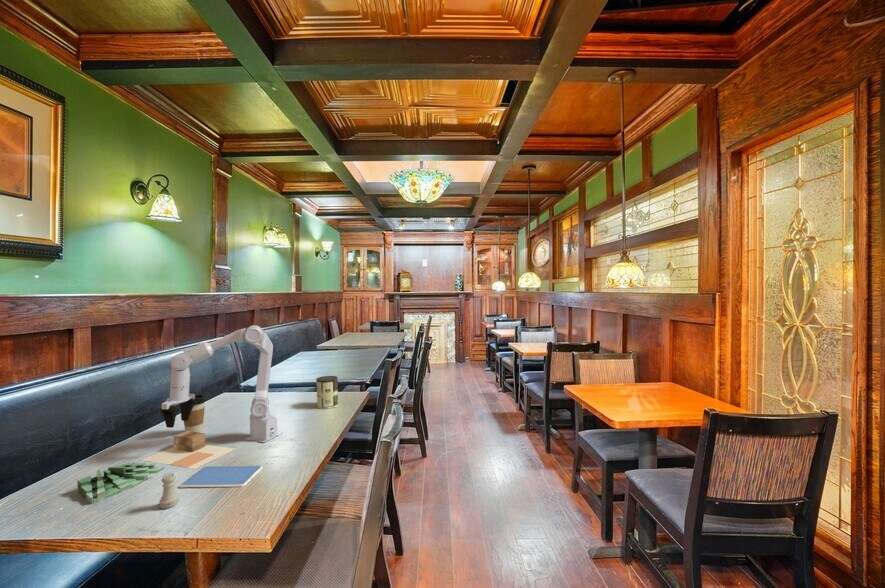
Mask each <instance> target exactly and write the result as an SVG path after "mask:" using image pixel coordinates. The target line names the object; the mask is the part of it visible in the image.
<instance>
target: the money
mask: <svg viewBox="0 0 885 588" xmlns="http://www.w3.org/2000/svg"><path fill="white" fill-rule="evenodd" d="M165 469H166V466H163V467H162V466H161V467H158V466H156V463H146V462H137V463H136V462H135V461H131V462H130V461H129V462H125V463H123V464H116V465H114V466H108V467H107V469H104V470H103V472H102V471H101V469H97V471H96V476H94V477H92V476H91V475H89V476H86V477H83V478H80V479H77V483H76V484H77V493H78V494H79V495H80V494H81V495H80V496H81V497H83V498H84V497H85V498H84V499H86V501H87V502H89V503H91V505H94V504H97V503H100V502H102V501H105V500H107V499H109V497H110V498H111V497H115V496H117V495H120V494H122V493H123V491H124V492H126V491H128V489H129V490H131V489H133V488H136V487H138V486H139V484H140V485H142V484H143V483H142V482H144V481H146V480H147V481H149V480H148V479H150V478H153V477H154V476H156V475H158V474H159V473H160V472H161V471H163V470H165ZM102 473H103V474H102ZM150 480H151V479H150ZM147 481H146V482H147ZM141 483H142V484H141ZM144 483H145V482H144ZM137 485H138V486H137ZM135 486H136V487H135ZM119 493H120V494H119ZM114 495H115V496H114Z"/></svg>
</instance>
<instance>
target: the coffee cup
mask: <svg viewBox="0 0 885 588" xmlns="http://www.w3.org/2000/svg"><path fill="white" fill-rule="evenodd" d="M193 400H196V404H195V405H194V407H193V409H192V411H191V413H190V416H189V419H188V421H183V425H184V432H185V431H192V432H200V433H203V431H204V430H203V428H204V419H205V418H204V417H205V409H206V407H205V402H206V397H205V395H203V394H195V399H193Z"/></svg>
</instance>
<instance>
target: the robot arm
mask: <svg viewBox="0 0 885 588" xmlns="http://www.w3.org/2000/svg"><path fill="white" fill-rule="evenodd" d="M244 341H245V342H247V343H248V344H251V345H252V346H255V348H256V349H258V350H259V360H258V367H257V376H256V387H255V393H254V398H253V399H252V400H251V406H250V415H249V435H250V436H248V437H246V438H244V440H246V441H253V442H258V443H267V442H269V441H270V440H273V439H274V438H276V437H278V436H279V435H280V434H279V433H278V420H277V417H276V416H273V415H272V414H271V411H270V409H269V405H270V404H269V403H270V401H269V399H268V392H269V387H270V386H269V385H270V378H271V377H270V376H271V366H272V359H273V351H274V345H273V342H272V341H271V340H270V338H269V335H268V334H267V332H266V330H264V329H263V328H262V327H261V326H259V325H255V324H253V325H250V326H249V327H245V328H241V329H237V330H235V331H233V332H231V333H228V334H227V335H225V336H223V337H221V338H218V339H217V340H215V341H213V342H207V341H206V342H205V341H204V342H198V343H197V344H196V345H195V346H193V347H191V348H188V349H183V352H179V353H178V354H176V355H174V356H173V357H172V358H171V359H170V367H171V374H170V388H169V389H170V390H169V397H167V398H166V401H165V402H162V403H161V407H159V412H160V413H161V416H163V419H164V421H165V426H166V428H169V429H170V428H175V423H176V417H177V414H178V411H179V409H180V419H181V421H182V422H184V421H188V419H189V416H190V413H191V411H192V409H193V407H194V405H195V404H196V400H193V399H195V395H196V393H190V381H191V372H190V371H191V365H194V364H195V365H196V364H197V363H199V362H202V361H204V360H206V359H208V358H210V357H212V356H213V355H214V352H215V351H216V350H219V349H222V348H223V347H226V346H228V345H230V344H232V343H243V342H244ZM177 405H179V407H175V406H177Z"/></svg>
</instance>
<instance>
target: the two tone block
mask: <svg viewBox="0 0 885 588" xmlns="http://www.w3.org/2000/svg"><path fill="white" fill-rule="evenodd" d="M205 445H206V433H205V432H192V431H185V430H184V431H183V432H180V433H178V434H175V435H173V447H174V450H181V451H188V452H194V451H197V450H199V449H201V448H203V447H205Z"/></svg>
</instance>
